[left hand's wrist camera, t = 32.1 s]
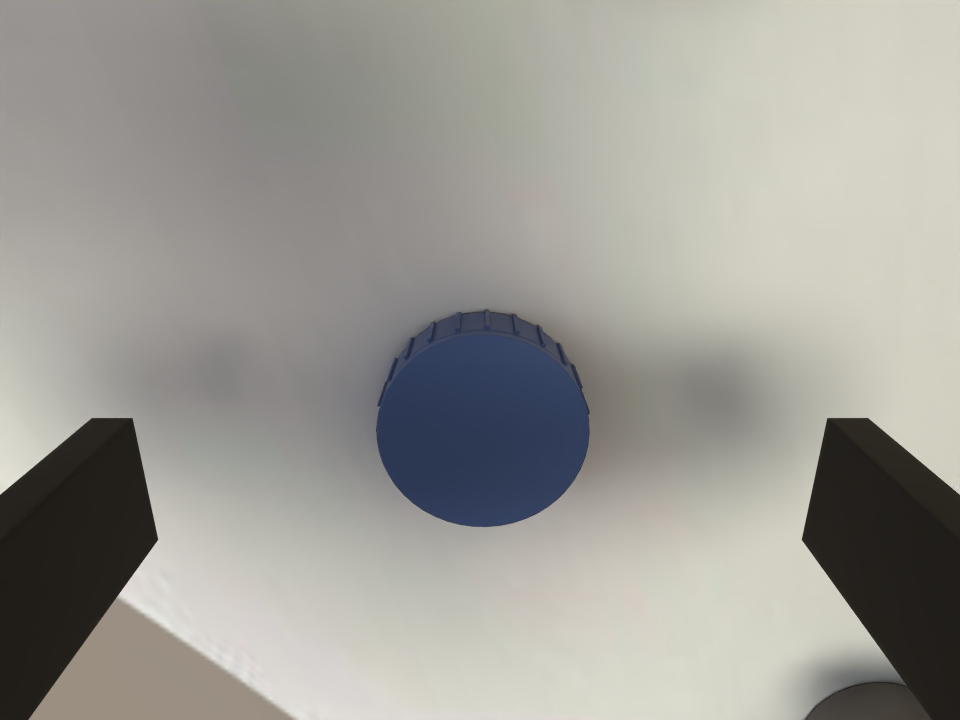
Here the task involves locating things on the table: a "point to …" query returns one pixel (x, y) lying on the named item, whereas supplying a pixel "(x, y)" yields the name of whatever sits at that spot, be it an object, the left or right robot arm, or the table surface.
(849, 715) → the jar
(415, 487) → the lid
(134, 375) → the table surface
